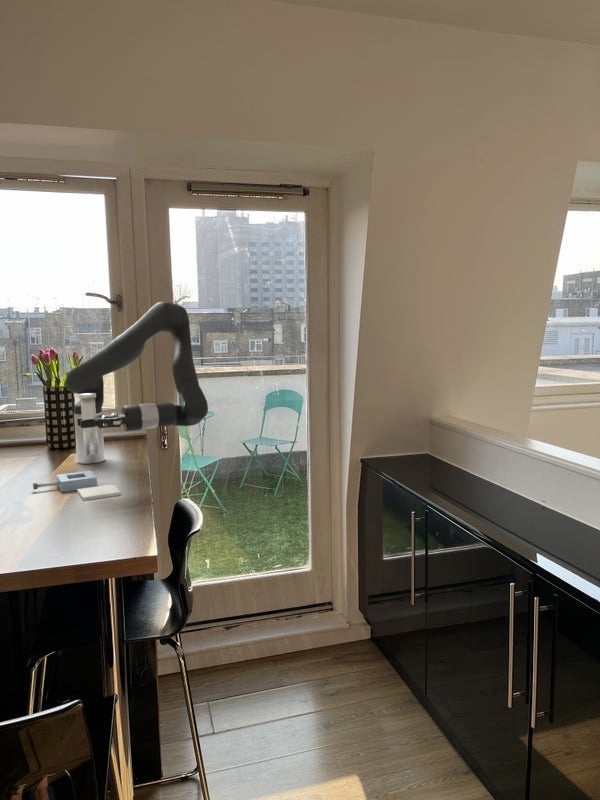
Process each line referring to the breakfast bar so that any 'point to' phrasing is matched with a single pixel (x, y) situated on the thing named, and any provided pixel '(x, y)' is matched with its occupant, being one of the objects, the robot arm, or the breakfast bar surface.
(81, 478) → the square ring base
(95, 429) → the steel pin
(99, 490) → the felt pad
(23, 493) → the breakfast bar surface
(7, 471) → the breakfast bar surface
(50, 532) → the breakfast bar surface
